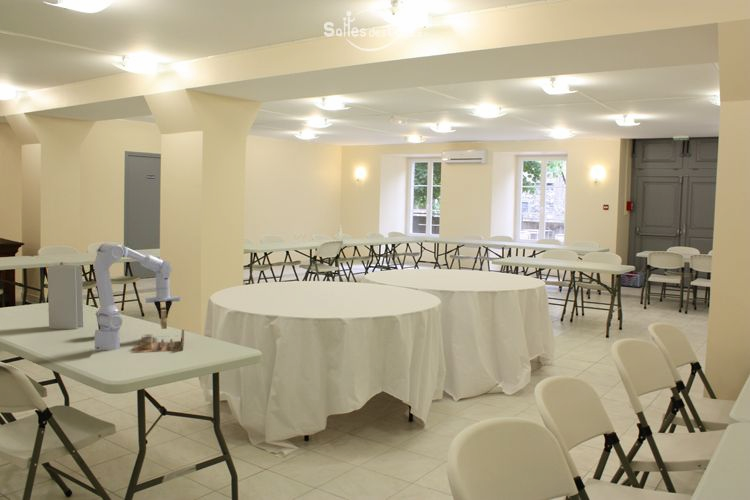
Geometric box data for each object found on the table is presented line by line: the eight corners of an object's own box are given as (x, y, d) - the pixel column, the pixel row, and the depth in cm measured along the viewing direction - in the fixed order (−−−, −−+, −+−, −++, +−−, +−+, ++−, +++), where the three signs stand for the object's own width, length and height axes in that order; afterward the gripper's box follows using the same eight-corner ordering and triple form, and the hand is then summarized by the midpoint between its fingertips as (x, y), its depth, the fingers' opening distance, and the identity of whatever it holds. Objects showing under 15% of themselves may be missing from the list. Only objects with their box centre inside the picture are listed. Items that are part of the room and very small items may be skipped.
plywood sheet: (161, 328, 274) (161, 310, 273) (160, 323, 283) (160, 306, 282) (166, 328, 275) (166, 310, 274) (165, 323, 284) (164, 306, 283)
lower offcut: (141, 349, 258) (141, 343, 258) (142, 345, 265) (142, 339, 264) (151, 349, 259) (151, 343, 259) (152, 345, 266) (152, 339, 265)
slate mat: (148, 344, 272) (148, 343, 272) (150, 337, 284) (150, 336, 284) (177, 342, 275) (177, 341, 275) (178, 336, 287) (178, 335, 287)
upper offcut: (141, 343, 258) (141, 337, 258) (142, 340, 263) (142, 334, 263) (151, 342, 259) (151, 336, 259) (152, 340, 264) (152, 334, 264)
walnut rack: (130, 355, 252) (130, 340, 251) (135, 345, 269) (135, 331, 269) (182, 352, 257) (182, 338, 257) (184, 343, 274) (184, 329, 274)
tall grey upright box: (83, 326, 307) (82, 265, 305) (77, 329, 301) (75, 266, 299) (56, 325, 308) (54, 265, 306) (49, 328, 303) (47, 266, 300)
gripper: (145, 289, 271) (146, 320, 272) (180, 288, 277) (181, 318, 278) (145, 287, 278) (145, 317, 279) (179, 286, 283) (179, 315, 284)
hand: (163, 318), depth 279 cm, fingers closed on plywood sheet, 2 cm apart
